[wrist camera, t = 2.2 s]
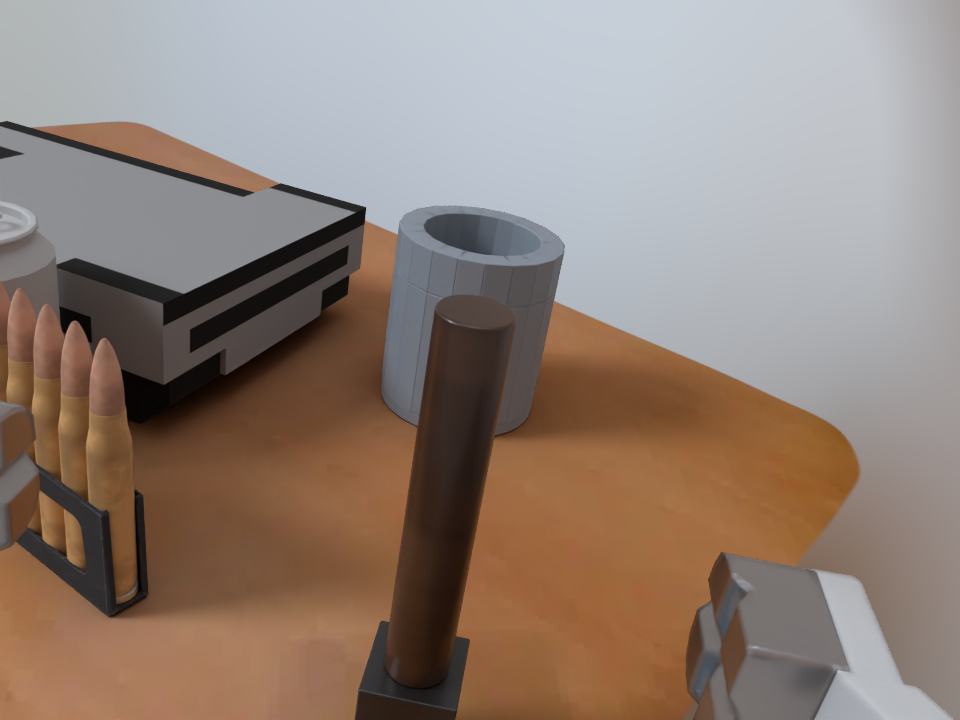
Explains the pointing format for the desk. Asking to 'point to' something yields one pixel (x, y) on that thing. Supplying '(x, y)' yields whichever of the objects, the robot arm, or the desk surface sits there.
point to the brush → (441, 515)
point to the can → (27, 258)
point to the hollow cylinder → (469, 271)
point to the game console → (177, 260)
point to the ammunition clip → (76, 454)
